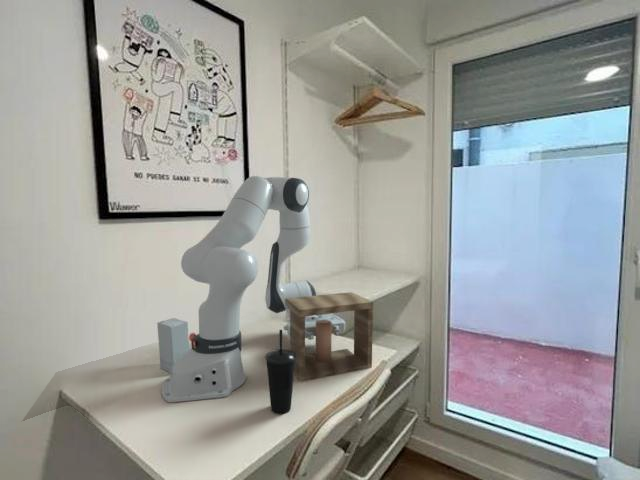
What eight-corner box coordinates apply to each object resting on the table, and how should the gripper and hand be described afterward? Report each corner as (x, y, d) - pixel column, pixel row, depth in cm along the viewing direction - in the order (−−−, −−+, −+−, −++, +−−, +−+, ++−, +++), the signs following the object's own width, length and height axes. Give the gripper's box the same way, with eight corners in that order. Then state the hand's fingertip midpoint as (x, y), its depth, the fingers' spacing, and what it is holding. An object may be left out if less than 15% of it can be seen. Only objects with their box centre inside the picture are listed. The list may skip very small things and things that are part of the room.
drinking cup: (298, 401, 90) (298, 325, 88) (293, 418, 82) (293, 336, 80) (269, 399, 90) (269, 324, 89) (261, 416, 83) (261, 335, 81)
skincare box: (191, 368, 108) (189, 321, 106) (172, 375, 103) (171, 326, 102) (176, 361, 113) (175, 316, 112) (158, 367, 108) (156, 321, 107)
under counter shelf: (299, 381, 100) (300, 310, 98) (285, 362, 113) (285, 298, 111) (371, 367, 109) (373, 301, 108) (350, 350, 122) (351, 292, 120)
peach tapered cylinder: (319, 362, 110) (319, 325, 109) (312, 356, 115) (313, 320, 114) (334, 359, 112) (334, 323, 111) (327, 353, 117) (327, 319, 116)
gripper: (281, 317, 120) (294, 329, 108) (334, 310, 128) (352, 321, 116) (281, 334, 121) (294, 349, 108) (334, 327, 129) (352, 340, 116)
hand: (325, 335), depth 112 cm, fingers open, 8 cm apart
